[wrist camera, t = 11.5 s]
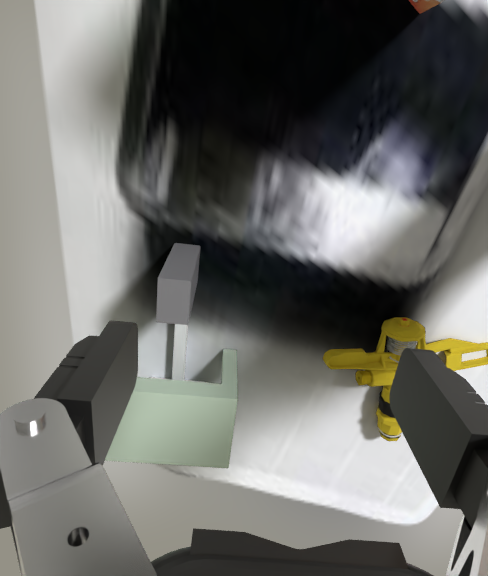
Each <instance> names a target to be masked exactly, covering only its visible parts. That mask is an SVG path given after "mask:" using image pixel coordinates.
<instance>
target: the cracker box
mask: <svg viewBox="0 0 488 576" xmlns="http://www.w3.org/2000/svg"><path fill="white" fill-rule="evenodd" d="M409 1H410V3H411V4H412V5H413V6H414V8H415V9H416V10H417V11H418V13H423V12H424V11H426V10H428V9H430V8H432V7H434V6H436V5H438V4H440V3H441V2H443V1H445V0H409Z"/></svg>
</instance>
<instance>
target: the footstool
mask: <svg viewBox="0 0 488 576" xmlns="http://www.w3.org/2000/svg"><path fill="white" fill-rule="evenodd" d="M237 401H238V388H237V350H230V349H223V356H222V374H221V384H217V383H204V382H192V381H179V380H167V379H154V378H142V377H137V380H136V384H135V388H134V390H133V393H132V395H131V398H130V400H129V402H128V405H127V407H126V410H125V412H124V415H123V417H122V419H121V422H120V424H119V427H118V429H117V432H116V434H115V436H114V439H113V441H112V444H111V446H110V449H109V451H108V453H107V456H106V458H105V460H106V461H122V462H138V463H153V464H168V465H184V466H199V467H215V468H228V467H229V460H230V452H231V445H232V438H233V430H234V423H235V416H236V409H237Z"/></svg>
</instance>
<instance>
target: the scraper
mask: <svg viewBox="0 0 488 576" xmlns="http://www.w3.org/2000/svg"><path fill="white" fill-rule="evenodd" d="M199 257H200V246H198V245H188V244H179V243H174V245H173V247H172V249H171V252H170V254H169V256H168V258H167V260H166V262H165V264H164V266H163V268H162V270H161V272H160V275H159V277H158V287H157V314H156V322H159V323H170V324H175V333H174V350H173V368H172V379H168V378H155V377H150V378H154V379H167V380H179V381H192V382H204V383H206V382H205V381H193V380H184V375H185V361H186V348H187V334H188V323H189V319H190V314H191V309H192V305H193V300H194V295H195V291H196V286H197V282H198V269H199Z"/></svg>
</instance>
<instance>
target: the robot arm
mask: <svg viewBox="0 0 488 576" xmlns="http://www.w3.org/2000/svg"><path fill="white" fill-rule="evenodd" d="M137 373H138V328H137V324H136V323H132V322H120V321H109V322H108V324H107V325H106V327H105V328H104V330H103V331H102V333H101V334H100V336H88V337H86V338H85V339H83V340H81V341H80V342H78V343H76V344H75V345H74V346H73V348H72V349H71V350H70V352H69V353H68V354H67V356H66V358H64V359H63V361H62V362H61V363H60V366H59V367H58V368H57V369H56V370H55V371H54V373H53V374H52V375H51V377H50V378H49V379H48V381H47V382H46V383H45V384H44V386H43V387H42V388H41V390H40V391H39V392H38V394H37V395H36V396H35V398H34V399H30V400H26V401H22V402H19V403H17V404H14V405H13V406H11V407H9V408H7V409H6V410H4V411H3V412H2V413H1V414H0V529H1V528H5V527H9V526H10V527H11V532H12V536H13V541H14V545H15V550H16V554H17V559H18V563H19V568H20V572H21V576H433V575H431V574H429V573H428V572H426V571H424V570H422V569H420V568H418V567H415V566H413V565H411V564H408V563H406V560H405V557H404V555H403V552H402V549H401V546H400V544H399V543H390V542H376V541H362V540H345V541H340V542H336V543H331V544H326V545H321V546H317V547H312V548H307V549H294V548H291V547H288V546H285V545H282V544H279V543H276V542H273V541H270V540H267V539H264V538H261V537H258V536H255V535H251V534H249V533H246V532H235V531H221V530H206V529H193V535H192V543H191V547H186V548H182V549H178V550H176V551H173V552H170V553H167V554H165V555H163V556H161V557H159V558H157V559H155V560H154V561H152V562H150V560H149V558H148V556H147V554H146V552H145V550H144V548H143V546H142V544H141V542H140V540H139V538H138V536H137V534H136V532H135V530H134V528H133V526H132V524H131V522H130V520H129V518H128V516H127V514H126V512H125V510H124V508H123V506H122V504H121V502H120V500H119V498H118V496H117V494H116V492H115V490H114V488H113V486H112V484H111V482H110V480H109V478H108V476H107V473H106V471H105V470H104V468H103V466H102V465H103V463H104V461H105V458H106V456H107V453H108V451H109V449H110V446H111V444H112V441H113V439H114V436H115V434H116V432H117V429H118V427H119V424H120V422H121V419H122V417H123V415H124V412H125V410H126V407H127V405H128V402H129V400H130V398H131V395H132V393H133V390H134V388H135V384H136V380H137ZM389 400H390V407H391V410H392V413H393V415H394V417H395V419H396V421H397V423H398V425H399V427H400V429H401V431H402V432H403V434H404V436H405V438H406V440H407V442H408V444H409V446H410V448H411V450H412V452H413V454H414V456H415V458H416V460H417V462H418V464H419V466H420V468H421V470H422V472H423V474H424V476H425V478H426V480H427V482H428V484H429V486H430V488H431V490H432V492H433V494H434V496H435V498H436V500H437V502H438V504H439V506H440V507H441V508H454V509H461V510H462V512H463V514H464V516H463V518H462V520H461V522H460V525H459V528H458V532H457V536H456V539H455V543H454V547H453V551H452V554H451V558H450V562H449V566H448V570H447V573H446V576H488V405H485V402H484V400H483V399H482V398H481V397H480V396H479V395H478V394H476V391H475V390H474V389H473V388H472V386H471V385H470V384H469V383H468V382H467V381H466V379H464V378H463V377H461V376H460V375H459V374H457V373H456V372H454V371H453V370H452V369H450V368H447V367H446V366H445V364H444V363H443V362H442V361H441V359H440V358H439V357H438V356H437V355H436V353H435V352H434V351H432V350H424V349H413V348H406V349H404V350H403V352H402V354H401V356H400V360H399V363H398V366H397V369H396V373H395V376H394V379H393V383H392V386H391V389H390V396H389Z"/></svg>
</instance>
